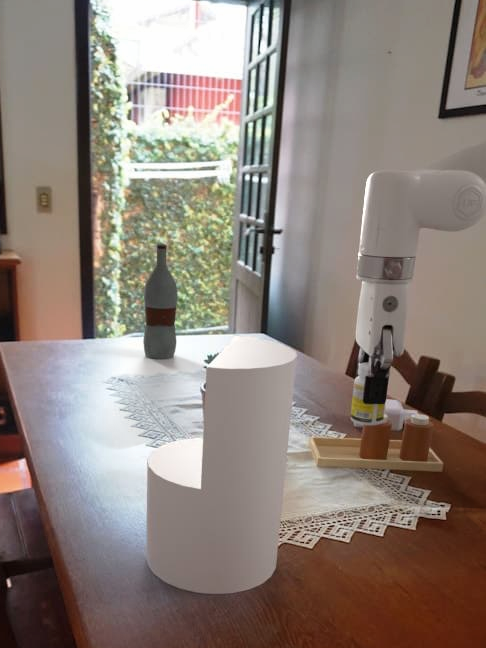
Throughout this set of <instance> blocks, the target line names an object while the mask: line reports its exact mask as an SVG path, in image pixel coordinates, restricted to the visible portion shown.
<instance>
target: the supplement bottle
mask: <svg viewBox="0 0 486 648" xmlns="http://www.w3.org/2000/svg"><path fill="white" fill-rule="evenodd" d="M374 366H375V363H374ZM368 367H369V362H366V363H361V364H359V368H358V375H359V376H358V377H356V376H355V379H354V382H353V389H352V390H353V391H352V399H351V409H350V420H351V422H353V423H354V422H355V423H357V424H361V425H369V426H370V425H379V424H381V423H382V422H383V418H384V410H385V404H365V403H364V402H363V392H364V384H365V376H368Z"/></svg>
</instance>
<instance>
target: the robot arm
mask: <svg viewBox="0 0 486 648" xmlns="http://www.w3.org/2000/svg"><path fill="white" fill-rule="evenodd" d="M485 215H486V140H484V141H481V142H478V143H476V144H472V145H469V146H467V147H464V148H462V149H459V150H457V151H454V152H452V153H449V154H447V155H444V156H443V157H440V158H438V159H436V160H434V161H432V162H430V163H428V164H426V165H424V166H421V167H419V168H417V169H416V170H404V169H403V170H401V169H381V170H375V171H374V172H372V173H371V174H370V175H369V176H368V178H367V180H366V185H365V193H364V203H363V213H362V220H361V231H360V240H359V249H358V258H357V267H356V277H355V279H356V280H358V281H361V286H360V287H361V288H360V294H359V300H358V306H357V307H358V308H357V314H356V322H355V342H356V343H357V345H358V347H359V350H358V351H359V352H358V356H357V365H356V372H355V378H356V377H358V376H359V375H358V368H359V364H361V363H366V362H369V367H368V376H365V384H364V392H363V402H364V403H365V404H385V403H386V399H387V396H388V387H389V381H390V377H391V367H392V364H393V362H394V356H395V357H397V358H398V357H401V356H402V355H403V354H404V351H405V341H406V332H407V321H408V308H409V284H410V283H413V281H414V280H413V279H414V272H415V266H416V256H417V251H418V244H419V238H420V232H421V231H420V230H421V229H429V230H435V231H436V230H437V231H442V232H448V233H449V232H450V233H451V232H452V233H453V232H460V231H464V230H468V229H469V228H472V227H473V226H475V225H477V224H478V223H479V222H480V221H481V220H482V218H483V217H484V216H485ZM374 363H375V366H374Z"/></svg>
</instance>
